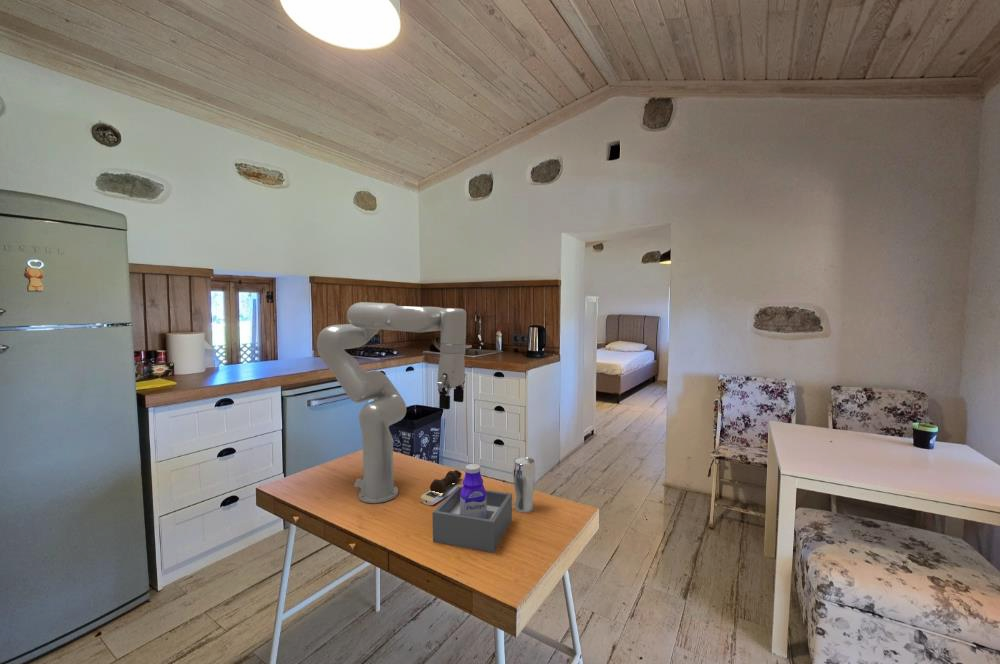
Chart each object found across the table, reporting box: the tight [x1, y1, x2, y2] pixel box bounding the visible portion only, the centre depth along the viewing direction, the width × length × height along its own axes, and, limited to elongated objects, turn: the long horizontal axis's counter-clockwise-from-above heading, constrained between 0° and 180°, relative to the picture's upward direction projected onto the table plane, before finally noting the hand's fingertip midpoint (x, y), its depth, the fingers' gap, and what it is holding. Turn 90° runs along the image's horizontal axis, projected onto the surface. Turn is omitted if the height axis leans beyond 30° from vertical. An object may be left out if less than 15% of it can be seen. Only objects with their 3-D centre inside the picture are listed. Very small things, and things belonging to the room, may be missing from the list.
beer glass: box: [512, 456, 537, 514], centre depth 129 cm, size 7×7×15 cm
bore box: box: [432, 485, 513, 554], centre depth 116 cm, size 17×17×8 cm
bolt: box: [429, 469, 462, 494], centre depth 145 cm, size 6×5×15 cm
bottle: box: [460, 463, 487, 519], centre depth 116 cm, size 7×6×17 cm
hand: (451, 405), depth 127 cm, fingers open, 9 cm apart
